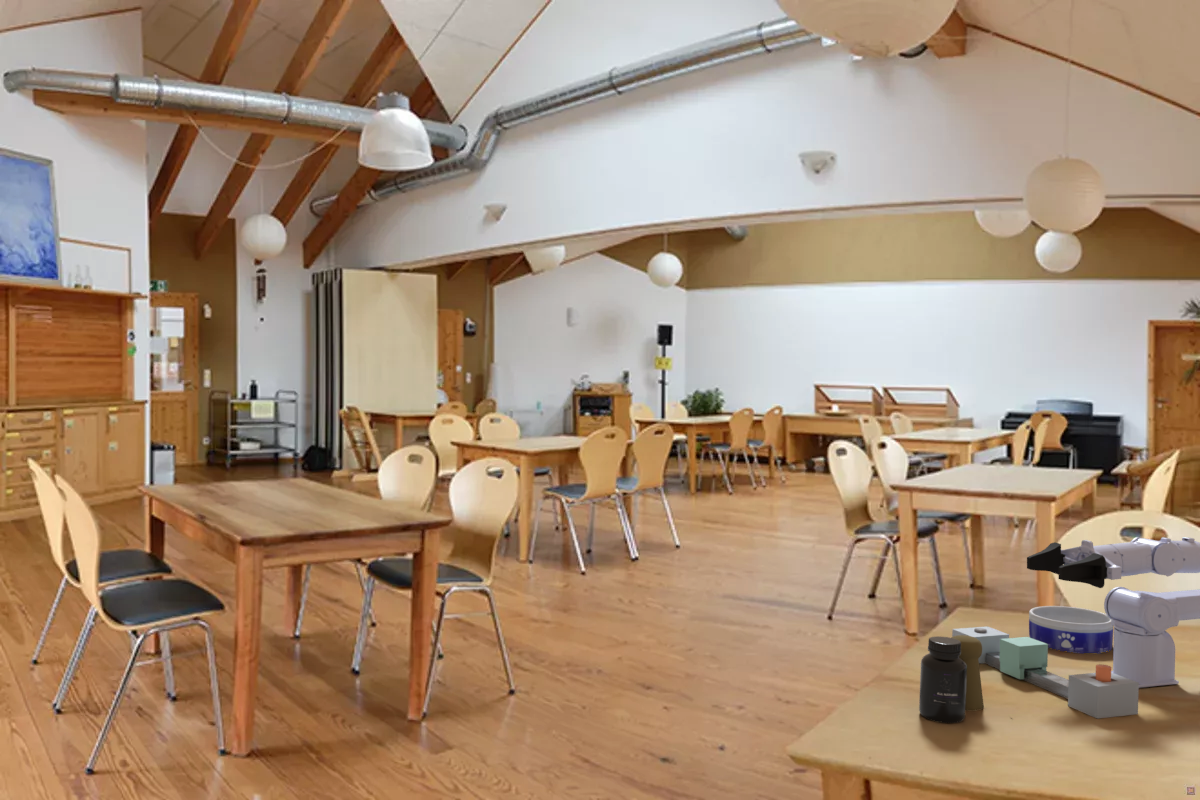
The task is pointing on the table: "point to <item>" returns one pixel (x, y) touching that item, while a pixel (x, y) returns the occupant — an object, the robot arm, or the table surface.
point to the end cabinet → (1103, 695)
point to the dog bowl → (1071, 629)
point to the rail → (1036, 676)
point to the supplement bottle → (943, 681)
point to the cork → (972, 671)
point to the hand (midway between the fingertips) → (1043, 568)
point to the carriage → (1022, 655)
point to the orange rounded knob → (1103, 673)
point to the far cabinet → (984, 638)
